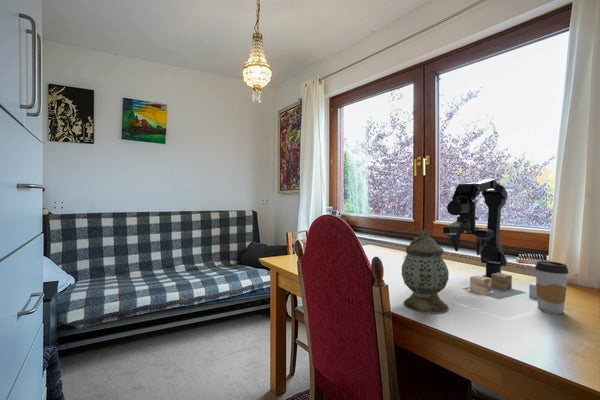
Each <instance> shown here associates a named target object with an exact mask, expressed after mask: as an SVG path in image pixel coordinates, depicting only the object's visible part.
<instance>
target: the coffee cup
mask: <svg viewBox="0 0 600 400" xmlns="http://www.w3.org/2000/svg"><path fill="white" fill-rule="evenodd" d="M534 266H535V267H534V269H535V282H536V289H537V298H536V300H537V307H538V309H540V310H541V311H542V312H543V313H544V312H546V313H549V314H554V315H555V314H556V315H561V314H563V312H565V303H566V297H567V296H566V295H567V294H566V293H567V283H568V281H567V280H568V274H569V268H568V267H567V264H566V263H561V262H557V261H548V260H547V261H546V260H537V261H536V264H535V265H534Z"/></svg>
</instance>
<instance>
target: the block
mask: <svg viewBox="0 0 600 400" xmlns="http://www.w3.org/2000/svg"><path fill="white" fill-rule="evenodd" d="M528 285H529V288H528V289H529V291H528V292H529V293H528V294H529V295H528V297H529V298H534V299H537V289H536V281H532V282H530V283H529V284H528Z"/></svg>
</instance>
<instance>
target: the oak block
mask: <svg viewBox="0 0 600 400" xmlns="http://www.w3.org/2000/svg"><path fill="white" fill-rule="evenodd" d="M469 287H470V290H472V291H476V292H480V293H487V292H491V278H488V277H483V275H479V274H478V275H473V276H470V277H469Z"/></svg>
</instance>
